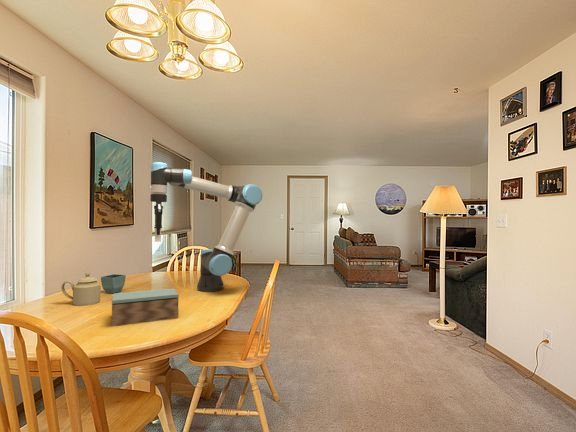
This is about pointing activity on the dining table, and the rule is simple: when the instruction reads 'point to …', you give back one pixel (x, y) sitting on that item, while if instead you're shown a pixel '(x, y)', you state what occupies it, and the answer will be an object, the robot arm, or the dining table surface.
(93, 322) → the dining table surface
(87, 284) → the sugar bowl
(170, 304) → the walnut box
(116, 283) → the flower pot
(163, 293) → the lid
